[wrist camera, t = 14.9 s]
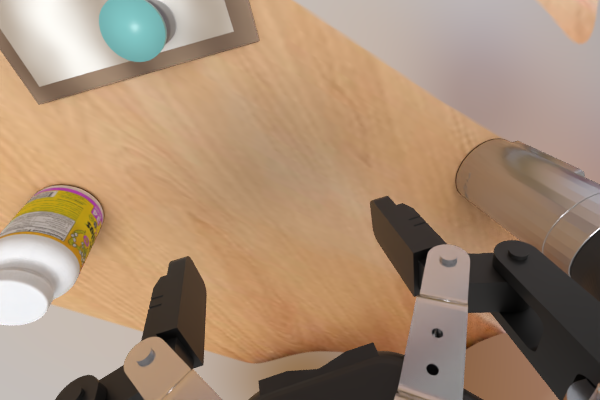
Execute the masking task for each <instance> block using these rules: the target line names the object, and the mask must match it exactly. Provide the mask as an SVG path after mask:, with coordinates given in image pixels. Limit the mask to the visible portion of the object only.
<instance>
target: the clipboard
mask: <svg viewBox="0 0 600 400" xmlns="http://www.w3.org/2000/svg"><path fill="white" fill-rule="evenodd" d="M107 1H108V0H0V50H1V51H2V53H3V54H4V56H5V57H6V59H7V60H8V61H9V63H10V64H11V66H12V67H13V69H14V70H15V71H16V73H17V74H18V76H19V77H20V79H21V80H22V81H23V83H24V84H25V86H26V87H27V89H28V90H29V92H30V93H31V94H32V96H33V97H34V99H35V100H36V102H37V103H38V104H43V103H46V102H50V101H53V100H57V99H60V98H63V97H67V96H70V95H74V94H77V93H81V92H84V91H88V90H91V89H95V88H98V87H102V86H105V85H109V84H112V83H115V82H119V81H122V80H126V79H129V78H133V77H136V76H140V75H143V74H147V73H150V72H154V71H157V70H161V69H164V68H167V67H171V66H174V65H178V64H181V63H185V62H188V61H192V60H195V59H199V58H202V57H206V56H209V55H212V54H216V53H219V52H223V51H226V50H230V49H233V48H237V47H240V46H244V45H247V44H251V43H254V42H258V41H259V37H258V33H257V30H256V26H255V22H254V18H253V15H252V11H251V7H250V4H249V0H159V1H161V2H163V3H165V4H166V5H167V6H168V7H169V8H170V9H171V10H172V12H173V13H174V16H175V18H176V22H177V29H176V33H175V35H174V36H173V38H172V39H171V40H170V41H169V42H168V43H167V44H166V45H165V46H164V48H163V49H162V51H161V52H160V53H159V54H158V55H157V56H156V57H154V58H153V59H151V60H149V61H145V62H134V61H129V60H127V59H124V58H122V57H120V56H119V55H117V54H116V53H115V52H114V51H113V50H112V49H111V48H110V47H109V46H108V45H107V43H106V42H105V40H104V39H103V36H102V34H101V31H100V27H99V15H100V11H101V9H102V7H103V5H104V4H105V3H106V2H107Z"/></svg>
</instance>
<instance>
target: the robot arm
mask: <svg viewBox="0 0 600 400" xmlns="http://www.w3.org/2000/svg"><path fill="white" fill-rule="evenodd" d="M584 176H585V175H584V172H583V171H582V170H580V169H578V168H576V167H574V166H572V165H570V164H567V163H565V162H563V161H561V160H559V159H557V158H554V157H552V156H550V155H548V154H546V153H544V152H541V151H539V150H537V149H535V148H533V147H531V146H528V145H526V144H524V143H522V142H520V141H515V142H509V141H507V140H505V139H493V140H490V141H487V142H485V143H483V144H481V145H480V146H478V147H477V148H475V149H474V150H473V151H472V152H471V153H470V154H469V155H468V156H467V157H466V159H465V160H464V161H463V163H462V164H461V166H460V168H459V171H458V173H457V178H456V186H457V189H458V191H459V193H460V194H461V195H462V196H464V197H465V198H466V199H468V200H469V201H470V202H471V203H473V204H474V205H475V206H477V207H478V208H479V209H480V210H482V211H483V212H484V213H485V214H487V215H488V216H489V217H491V218H492V219H493V220H494V221H496V222H497V223H498V224H500V225H501V226H502V227H503V228H505V229H506V230H507V231H509V232H510V233H511V234H513V235H514V236H515V237H516V238H518V239H519V240H520V241H515V240H509V241H503V242H501V243H499V244H498V245H496V247H495V249H494V253H482V254H468V253H467V252H466V251H464V250H463V249H461V248H460V247H457V246H454V245H448V244H446V243H445V242H444V241H443V239H442V238H441V237H440V236H439V235H438V234H437V233H436V232H435V231H434V230H433V229H432V228H431V227H430V226H429V225H428V224H427V223H426V222H425V220H424V219H423V218H422V217H420V215H419V214H418V213H417V212H416V211H415V210H414V209H413V208H411V207H409V206H407V205H405V204H403V203H402V204H399V205H396V204H395V203H394V202H393V201H392V200H391V199H390V198H389V197H388V196H385V197H382V198H378V199H375V200H372V201H371V202H370V208H371V217H372V225H373V231H374V235H375V237H376V239H377V241H378V243H379V244H380V246H381V247H382V249H383V250H384V252H385V253H386V255H387V257H388V258H389V260H390V261H391V263H392V264H393V266H394V267H395V269H396V270H397V272H398V273H399V275H400V276H401V278H402V279H403V281H404V282H405V284H406V285H407V287H408V288H409V290H410V291H411V293H412V294H413V296H414V297H415V296H417V298H416V302H415V307H414V312H413V317H412V322H411V327H410V332H409V337H408V342H407V347H406V352H405V355H402V354H399V353H395V352H390V351H377V350H376V348H375V345H374V343H370V344H367V345H364V346H361V347H358V348H355V349H352V350H349V351H346V352H344V353H343V354H341V355H340V356H338V357H337V358H335V359H334V360H332V361H330V362H329V363H328V364H326V365H324V366H323V367H321V368H319V369H313V370H299V371H286V372H284V373H280V374H277V375H274V376H272V377H269V378H266V379H263V380H260V381H259V389H260V391H259V392H257V393H256V394H255V395H253V396H252V397H251V398H250V399H249V400H483V399H481V398H479V397H477V396H476V395H474V394H472V393H471V392H469V391H467V390H466V389H464V388H463V385H464V367H465V351H466V334H467V317H468V313H483V312H491V314H492V315H493V316H494V317H495V319H496V320H497V321H498V322H499V324H500V325H501V326H502V328H503V329H504V330H505V331H506V333H507V334H508V335H509V336H510V338H511V339H512V340H513V341H514V343H515V344H516V345H517V347H518V348H519V349H520V350H521V352H522V353H523V354H524V355H525V357H526V358H527V359H528V360H529V362H530V363H531V364H532V365H533V367H534V368H535V369H536V371H537V372H538V373H539V374H540V376H541V377H542V378H543V380H544V381H545V382H546V383H547V385H548V386H549V387H550V389H551V390H552V391H553V392H554V394H555V395H556V396H557V397H558V399H559V400H600V184H598V183H596V182H594V181H592V180H589V179H587V178H585V177H584ZM205 317H206V288H205V284H204V281H203V279H202V278H201V276H200V274H199V272H198V270H197V268H196V267H195V265H194V263H193V261H192V259H191V258H190V257H189V256H187V257H184V258H180V259H177V260H174V261H171V262H170V263H169V267H168V273H167V275H166V276H163V277H160V279H159V280H158V282H157V284H156V285H155V287H154V288H153V293H152V297H151V301H150V305H149V310H148V314H147V318H146V323H145V327H144V331H143V336H142V340H141V342H140V343H138V344H137V345H135V346H134V348H132V350H131V351H130V352H129V353H128V355H127V357H126V359H125V361H124V365H123V366H122V367H120V368H118V369H117V370H115V371H114V372H112V373H110V374H109V375H107V376H105V377H104V378H102V379H101V380H98V379H97V378H95V377H94V376H92V375H86V376H82V377H80V378H77V379H76V380H74V381H73V382H71V383H70V384H69V385H67V386H66V387H65V388H64V389H63V390H62V391H61V392H60V394H59V395H58V396H57V398H56V399H55V400H222V399H221V398H220V397H219V395H218V394H217V393H216V392H215V391H214V390H213V389H212V388H211V387H210V386H209V385H208V384H207V383H206V382H205V381H204V380H203V379H202V378H201V377H200V376H199V375H198V374H197V373H196V372H195V371H194V370H193V368H196V367H199V366H202V365H203V362H204V361H203V359H204V339H205Z"/></svg>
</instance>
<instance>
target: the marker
mask: <svg viewBox="0 0 600 400" xmlns="http://www.w3.org/2000/svg"><path fill="white" fill-rule="evenodd" d="M99 27H100V31H101V34H102V36H103V39H104V40H105V42H106V43H107V45H108V46H109V47H110V48H111V49H112V50H113V51H114V52H115V53H116V54H117V55H119V56H120V57H122V58H124V59H127V60H129V61H134V62H145V61H149V60H151V59H153V58H154V57H156V56H157V55H158V54H159V53H160V52H161V51H162V49H163V48H164V46H165V45H166V44H167V43H168V42H169V41H170V40H171V39H172V38H173V36H174V35H175V33H176V29H177V22H176V18H175V16H174V13H173V12H172V10H171V9H170V8H169V7H168V6H167V5H166V4H165V3H163V2H161V1H159V0H108V1H107V2H106V3H105V4H104V5H103V7H102V9H101V11H100V15H99Z"/></svg>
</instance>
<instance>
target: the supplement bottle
mask: <svg viewBox="0 0 600 400" xmlns="http://www.w3.org/2000/svg"><path fill="white" fill-rule="evenodd" d="M103 218H104V214H103V210H102V207H101V205H100V203H99V202H98V201H97V200H96V198H95V197H93V196H92V195H91V194H89V193H88V192H86V191H84V190H82V189H80V188H76V187H72V186H66V185H56V186H50V187H47V188H44V189H42V190H40V191H39V192H37V193H36V194H35V195H34V196H33V197H32V198H31V199H30V200H29V201H28V202H27V203H26V204H25V206H24V207H23V208H22V209H21V210H20V211H19V212H18V214H17V215H16V216H15V217H14V218H13V219H12V221H11V222H10V223H9V224H8V225H7V226H6V227H5V229H4V230H3V231H2V232H1V233H0V324H1V325H23V324H28V323H31V322H34V321H35V320H38V319H39V318H41V317H42V316H43V315H44V314H45V313H46V311H47V310H48V308H49V306H50V304H51V302H52V301H53V299H55V298H58V297H60V296H61V295H63V294H65V293H66V292H67V291H68V290H69V289H70V288H71V287H72V286H73V285H74V283H75V282H76V280H77V278H78V276H79V274H80V271H81V269H82V267H83V265H84V263H85V261H86V259H87V256H88V254H89V252H90V250H91V248H92V245H93V243H94V241H95V239H96V237H97V235H98V233H99V230H100V228H101V226H102V223H103Z"/></svg>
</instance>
